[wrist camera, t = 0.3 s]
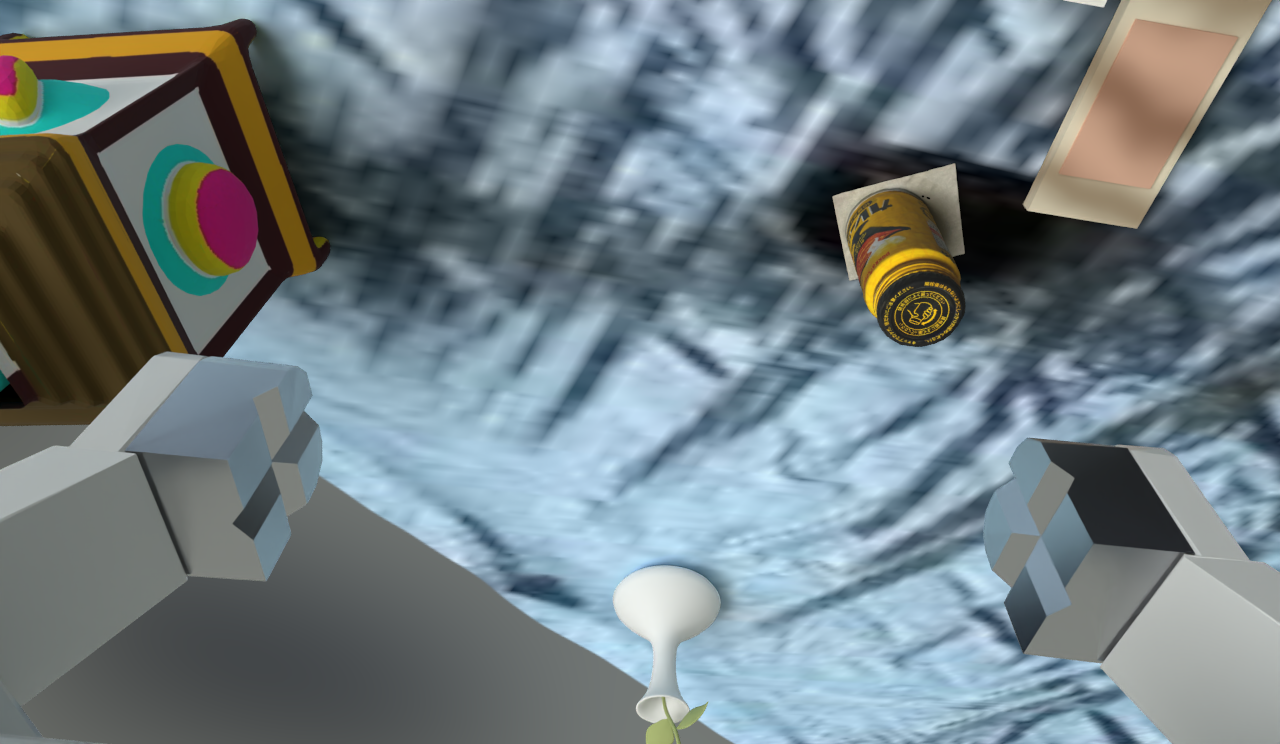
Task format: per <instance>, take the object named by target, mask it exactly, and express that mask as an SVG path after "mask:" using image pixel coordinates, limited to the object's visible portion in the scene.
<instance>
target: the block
mask: <svg viewBox="0 0 1280 744" xmlns="http://www.w3.org/2000/svg"><path fill="white" fill-rule="evenodd" d="M1065 1H1070V2H1076V3H1082V4H1087V5H1093V6H1099V7H1104V6H1105V4H1106V2H1107V0H1065Z"/></svg>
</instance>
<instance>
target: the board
mask: <svg viewBox="0 0 1280 744" xmlns="http://www.w3.org/2000/svg"><path fill="white" fill-rule="evenodd" d="M1271 1H1272V0H1121V2H1120V4H1119V6H1118V8H1117V11H1116V13H1115V15H1114V17H1113V19H1112V21H1111V23H1110V25H1109V27H1108V29H1107V31H1106V33H1105V35H1104V38H1103V40H1102V42H1101V44H1100V46H1099V48H1098V50H1097V52H1096V54H1095V56H1094V58H1093V60H1092V62H1091V65H1090V67H1089V69H1088V71H1087V73H1086V75H1085V77H1084V79H1083V81H1082V83H1081V85H1080V87H1079V89H1078V91H1077V94H1076V96H1075V98H1074V100H1073V102H1072V104H1071V106H1070V108H1069V110H1068V112H1067V114H1066V116H1065V118H1064V121H1063V123H1062V125H1061V127H1060V129H1059V131H1058V133H1057V135H1056V137H1055V139H1054V141H1053V143H1052V145H1051V147H1050V150H1049V152H1048V154H1047V156H1046V158H1045V160H1044V162H1043V164H1042V166H1041V168H1040V170H1039V172H1038V174H1037V177H1036V179H1035V181H1034V183H1033V185H1032V187H1031V189H1030V191H1029V193H1028V195H1027V197H1026V199H1025V201H1024V204H1023V205H1024V206H1025V208H1026V209H1027V211H1032V212H1038V213H1044V214H1050V215H1056V216H1063V217H1069V218H1075V219H1081V220H1087V221H1093V222H1099V223H1105V224H1112V225H1118V226H1124V227H1130V228H1136V229H1137V228H1138V226H1139V224H1140V223H1141V221H1142V219H1143V218H1144V216H1145V214H1146V213H1147V211H1148V209H1149V207H1150V206H1151V204H1152V202H1153V201H1154V199H1155V197H1156V196H1157V194H1158V192H1159V191H1160V189H1161V187H1162V185H1163V184H1164V182H1165V180H1166V179H1167V177H1168V175H1169V174H1170V172H1171V170H1172V168H1173V167H1174V165H1175V163H1176V162H1177V160H1178V158H1179V157H1180V155H1181V153H1182V152H1183V150H1184V148H1185V146H1186V145H1187V143H1188V141H1189V140H1190V138H1191V136H1192V135H1193V133H1194V131H1195V129H1196V128H1197V126H1198V124H1199V123H1200V121H1201V119H1202V118H1203V116H1204V114H1205V113H1206V111H1207V109H1208V107H1209V106H1210V104H1211V102H1212V101H1213V99H1214V97H1215V96H1216V94H1217V92H1218V91H1219V89H1220V87H1221V85H1222V84H1223V82H1224V80H1225V79H1226V77H1227V75H1228V74H1229V72H1230V70H1231V68H1232V67H1233V65H1234V63H1235V62H1236V60H1237V58H1238V57H1239V55H1240V53H1241V52H1242V50H1243V48H1244V46H1245V45H1246V43H1247V41H1248V40H1249V38H1250V36H1251V35H1252V33H1253V31H1254V29H1255V28H1256V26H1257V24H1258V23H1259V21H1260V19H1261V18H1262V16H1263V14H1264V13H1265V11H1266V9H1267V7H1268V6H1269V4H1270V2H1271Z"/></svg>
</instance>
